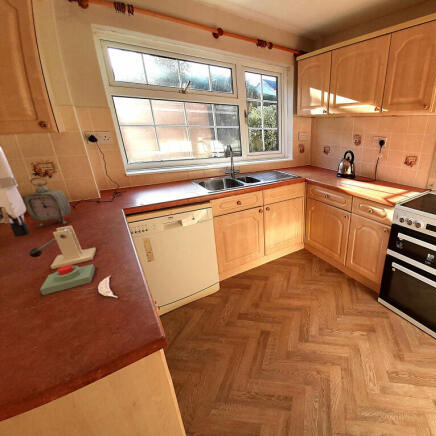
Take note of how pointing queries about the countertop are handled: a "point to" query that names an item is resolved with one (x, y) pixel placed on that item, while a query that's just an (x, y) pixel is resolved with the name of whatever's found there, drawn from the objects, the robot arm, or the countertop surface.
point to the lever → (42, 248)
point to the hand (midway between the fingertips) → (22, 235)
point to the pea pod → (105, 288)
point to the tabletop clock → (46, 204)
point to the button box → (68, 279)
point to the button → (65, 269)
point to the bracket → (70, 248)
